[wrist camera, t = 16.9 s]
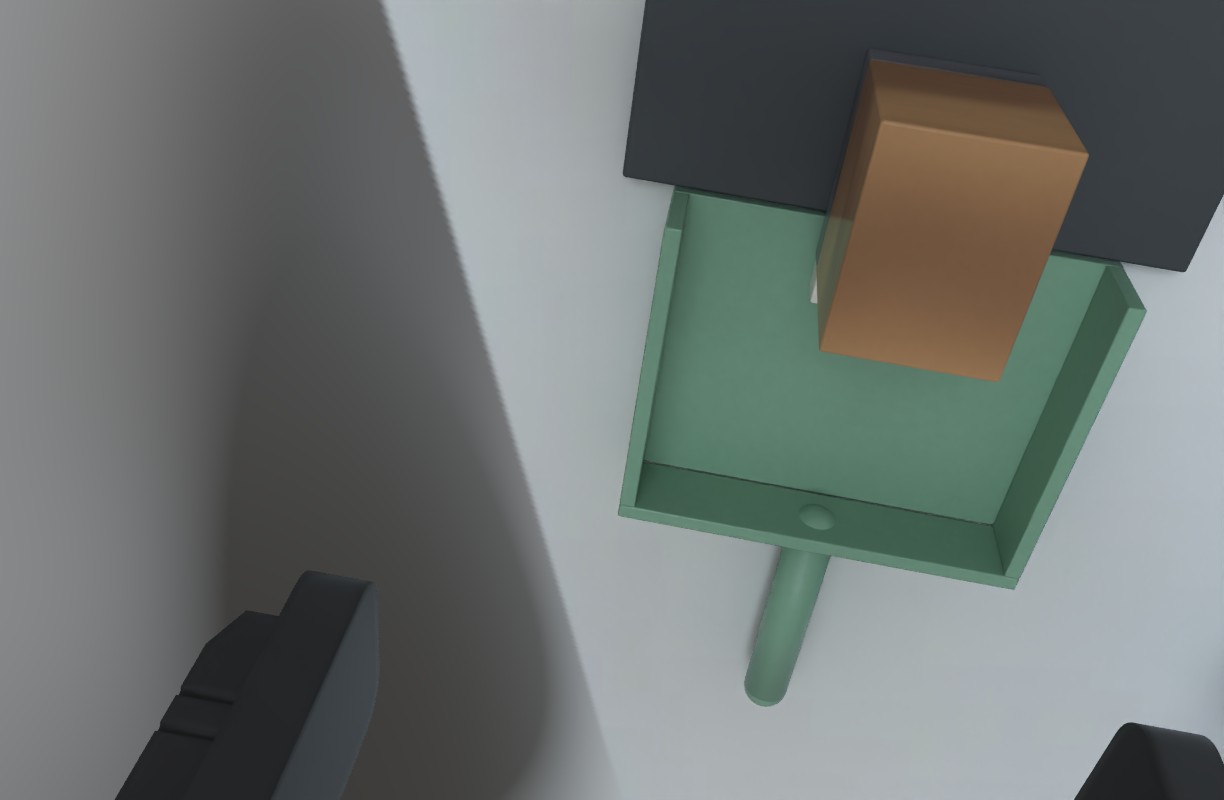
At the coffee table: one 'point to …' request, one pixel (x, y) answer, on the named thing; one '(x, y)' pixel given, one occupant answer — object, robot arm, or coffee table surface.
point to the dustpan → (851, 418)
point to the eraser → (942, 213)
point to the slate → (955, 31)
